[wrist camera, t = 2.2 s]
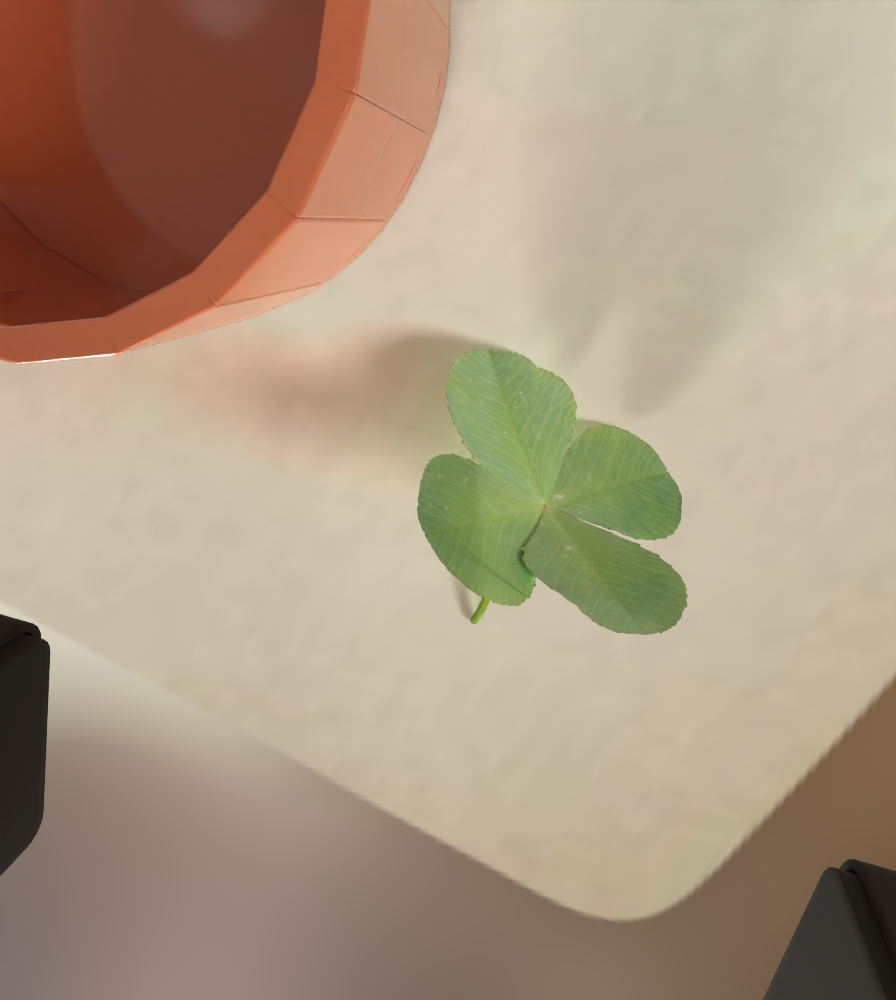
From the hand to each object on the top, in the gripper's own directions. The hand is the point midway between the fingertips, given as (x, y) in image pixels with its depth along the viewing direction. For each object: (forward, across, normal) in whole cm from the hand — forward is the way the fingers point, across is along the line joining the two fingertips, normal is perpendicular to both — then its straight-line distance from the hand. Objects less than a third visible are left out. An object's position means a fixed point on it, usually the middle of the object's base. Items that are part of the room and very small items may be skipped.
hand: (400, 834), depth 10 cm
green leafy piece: (+13, 0, 0) cm, 13 cm away
